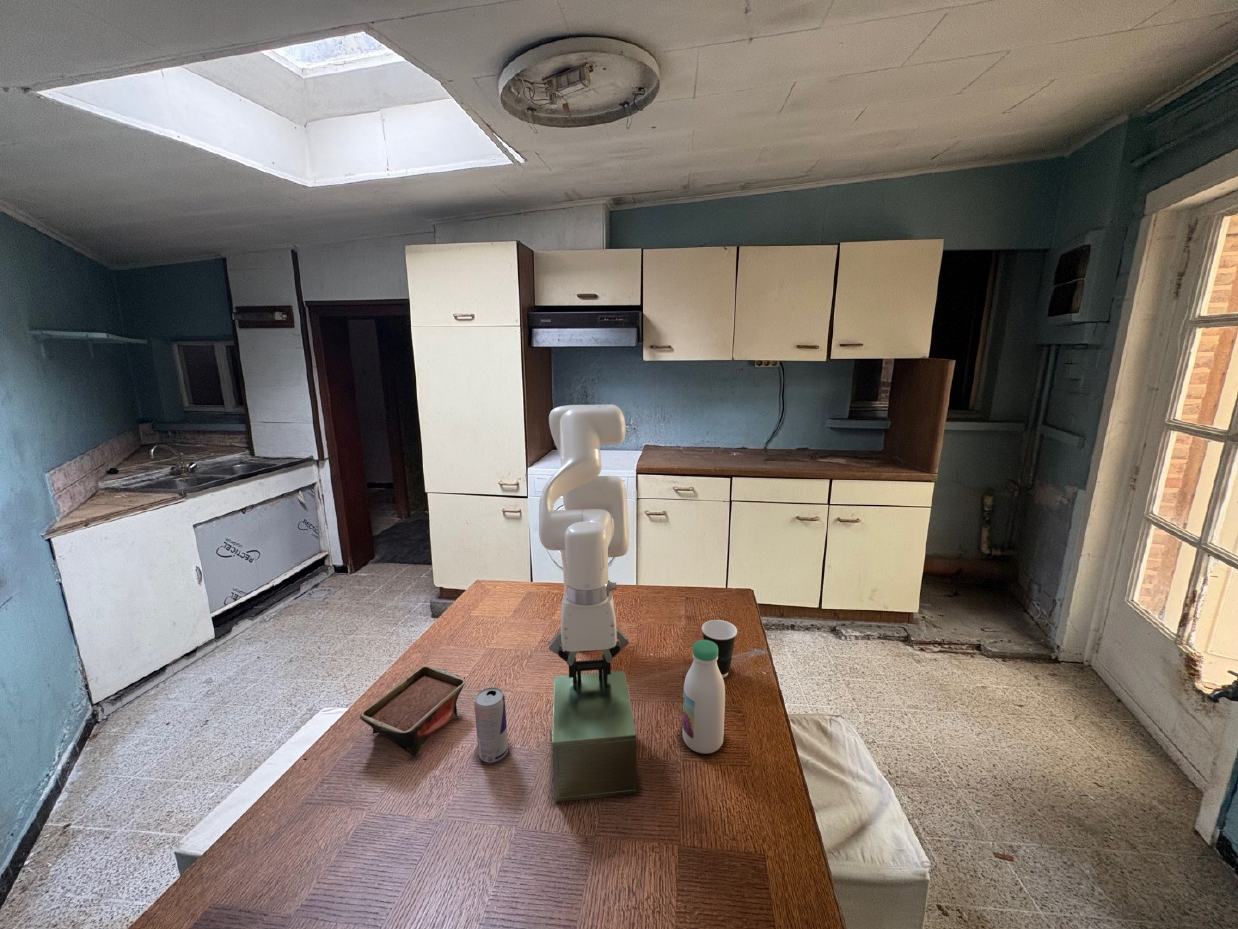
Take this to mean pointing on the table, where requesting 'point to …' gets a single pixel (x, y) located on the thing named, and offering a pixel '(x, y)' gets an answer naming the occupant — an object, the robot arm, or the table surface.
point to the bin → (594, 770)
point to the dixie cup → (721, 641)
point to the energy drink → (491, 724)
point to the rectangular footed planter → (415, 707)
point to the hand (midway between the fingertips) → (589, 677)
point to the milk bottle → (704, 700)
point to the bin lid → (591, 707)
